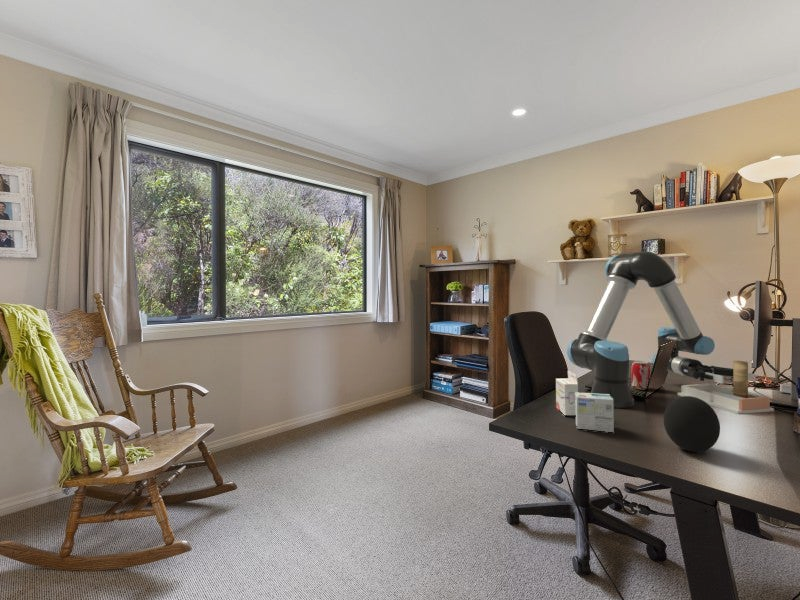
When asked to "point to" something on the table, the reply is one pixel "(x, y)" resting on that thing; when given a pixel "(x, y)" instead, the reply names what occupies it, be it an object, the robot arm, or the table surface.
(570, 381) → the ink cartridge box
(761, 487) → the table surface
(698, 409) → the decorative egg
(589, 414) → the light bulb box
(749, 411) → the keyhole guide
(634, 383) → the soda can
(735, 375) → the headed peg
